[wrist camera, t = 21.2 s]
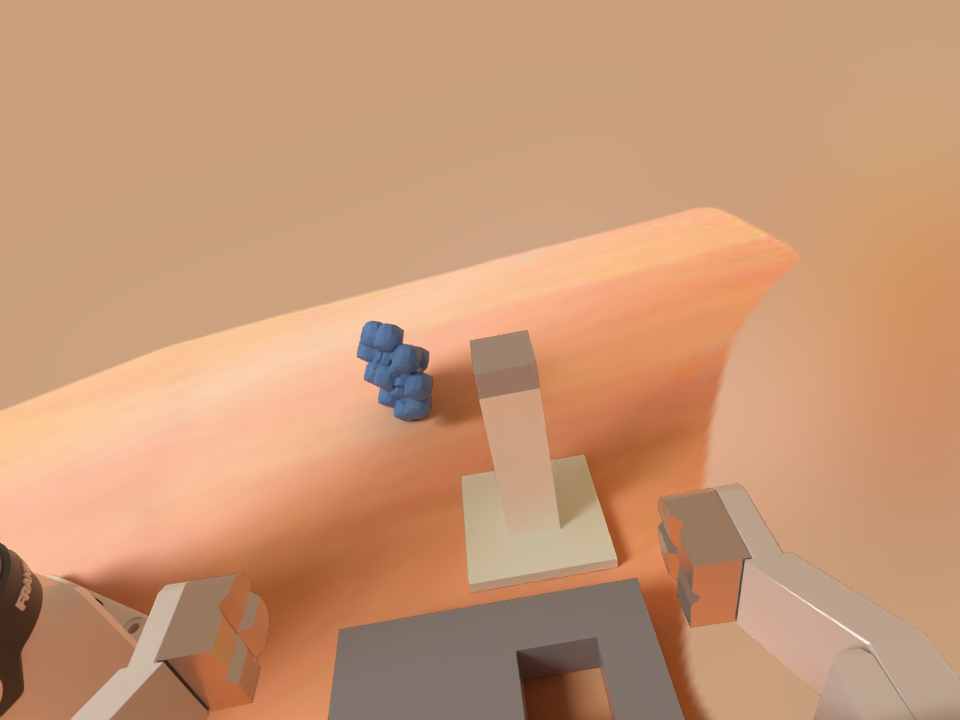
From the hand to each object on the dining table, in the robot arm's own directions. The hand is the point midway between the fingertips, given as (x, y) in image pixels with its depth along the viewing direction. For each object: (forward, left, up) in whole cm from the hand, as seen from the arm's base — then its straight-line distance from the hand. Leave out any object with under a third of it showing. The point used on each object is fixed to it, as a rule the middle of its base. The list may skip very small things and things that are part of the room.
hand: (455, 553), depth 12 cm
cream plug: (-15, +20, -28) cm, 38 cm away
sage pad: (-15, +20, -29) cm, 39 cm away
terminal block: (-8, +6, -29) cm, 31 cm away
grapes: (-33, +27, -30) cm, 52 cm away
